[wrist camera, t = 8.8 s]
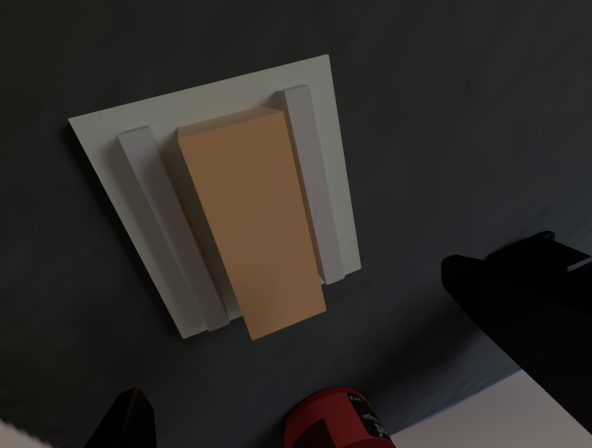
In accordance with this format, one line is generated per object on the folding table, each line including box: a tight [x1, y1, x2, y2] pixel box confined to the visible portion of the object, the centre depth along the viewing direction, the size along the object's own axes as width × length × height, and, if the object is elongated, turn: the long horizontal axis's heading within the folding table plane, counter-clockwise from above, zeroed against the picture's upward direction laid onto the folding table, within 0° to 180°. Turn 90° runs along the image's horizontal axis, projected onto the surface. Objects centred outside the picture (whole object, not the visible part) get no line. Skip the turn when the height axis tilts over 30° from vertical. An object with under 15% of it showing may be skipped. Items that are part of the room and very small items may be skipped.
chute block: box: [177, 106, 326, 340], centre depth 16 cm, size 10×4×4 cm, turn 13°
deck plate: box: [68, 54, 361, 339], centre depth 17 cm, size 13×12×2 cm
